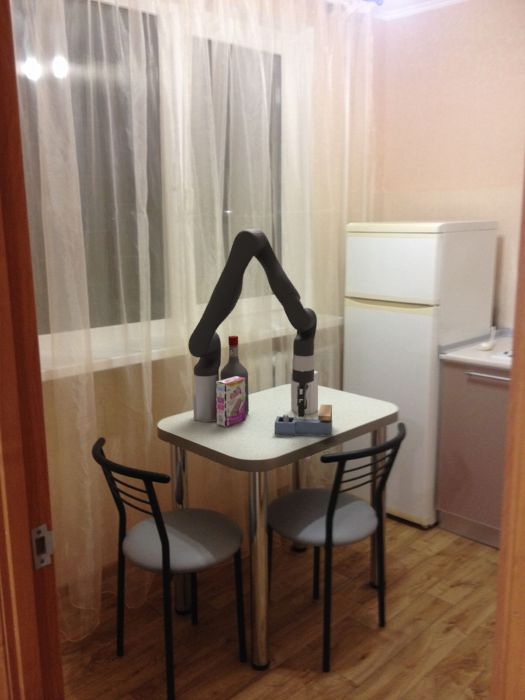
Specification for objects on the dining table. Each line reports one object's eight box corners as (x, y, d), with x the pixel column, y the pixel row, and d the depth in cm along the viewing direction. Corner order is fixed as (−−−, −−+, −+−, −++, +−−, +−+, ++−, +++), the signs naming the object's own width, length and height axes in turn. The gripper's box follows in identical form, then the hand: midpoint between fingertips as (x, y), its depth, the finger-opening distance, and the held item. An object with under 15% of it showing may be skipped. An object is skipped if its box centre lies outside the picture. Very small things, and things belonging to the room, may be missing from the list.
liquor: (232, 408, 252) (230, 333, 245) (251, 412, 246) (250, 335, 240) (218, 414, 244) (216, 337, 238) (237, 418, 239) (235, 339, 233)
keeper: (318, 438, 217) (318, 415, 215) (320, 426, 229) (320, 404, 228) (329, 438, 216) (330, 416, 215) (331, 426, 229) (332, 404, 227)
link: (274, 435, 221) (274, 422, 220) (277, 428, 228) (277, 416, 227) (331, 437, 218) (331, 424, 217) (332, 430, 224) (332, 418, 224)
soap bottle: (318, 407, 252) (318, 352, 247) (317, 414, 243) (317, 357, 239) (291, 406, 253) (291, 352, 248) (290, 413, 244) (290, 357, 240)
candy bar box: (226, 428, 229) (225, 383, 225) (216, 425, 232) (214, 381, 229) (246, 420, 237) (246, 377, 234) (236, 417, 240) (235, 375, 237)
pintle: (282, 432, 223) (282, 416, 221) (283, 431, 225) (283, 414, 223) (288, 433, 222) (288, 416, 221) (289, 431, 224) (289, 414, 223)
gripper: (294, 361, 225) (293, 406, 229) (289, 372, 212) (289, 418, 215) (315, 362, 224) (314, 407, 228) (312, 372, 211) (311, 419, 214)
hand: (302, 412), depth 221 cm, fingers open, 8 cm apart
